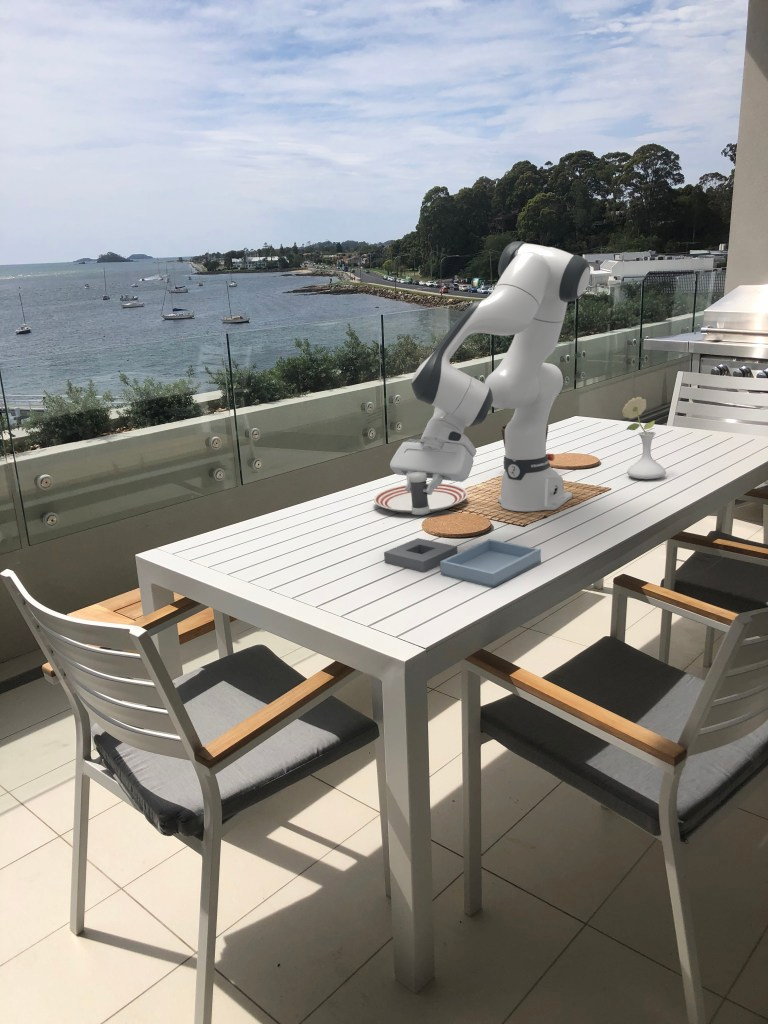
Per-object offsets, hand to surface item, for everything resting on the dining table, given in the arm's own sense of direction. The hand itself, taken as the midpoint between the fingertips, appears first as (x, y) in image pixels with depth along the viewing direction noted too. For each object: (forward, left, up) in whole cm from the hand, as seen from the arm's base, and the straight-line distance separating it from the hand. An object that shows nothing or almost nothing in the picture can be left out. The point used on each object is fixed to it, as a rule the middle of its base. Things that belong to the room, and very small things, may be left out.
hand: (417, 492), depth 171 cm
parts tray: (-4, +16, -16) cm, 24 cm away
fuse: (-1, 0, -5) cm, 5 cm away
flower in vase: (-93, +9, -17) cm, 95 cm away
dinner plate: (-36, -32, -17) cm, 51 cm away
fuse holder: (0, -1, -16) cm, 16 cm away
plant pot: (-80, -25, -17) cm, 86 cm away
